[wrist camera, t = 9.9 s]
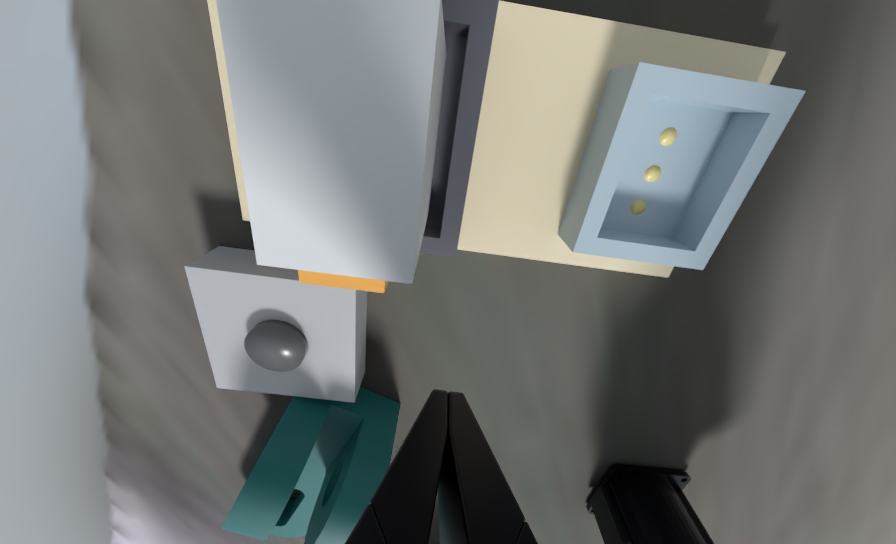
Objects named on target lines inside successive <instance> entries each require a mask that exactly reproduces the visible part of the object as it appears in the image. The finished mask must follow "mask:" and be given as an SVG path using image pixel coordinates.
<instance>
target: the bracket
mask: <svg viewBox="0 0 896 544" xmlns="http://www.w3.org/2000/svg"><path fill="white" fill-rule="evenodd" d="M400 404H401V403H398V402H396V401H394V400H391V399H389V398H386V397H384V396H381V395H379V394H376V393H374V392H371V391H369V390H367V389H364V388H362V387H360V388H359V391H358V394H357V397H356V400H355V403H354V402H345V401H335V400H326V399H316V398H307V397H298V396H293V398H292V399H291V401H290V403H289V405H288V407H287V408H286V410H285V412H284V414H283V415H282V417H281V419H280V421H279V423H278V424H277V426H276V428H275V430H274V432H273V433H272V435H271V437H270V439H269V441H268V442H267V444H266V446H265V448H264V450H263V451H262V453H261V455H260V457H259V459H258V461H257V462H256V464H255V466H254V468H253V470H252V472H251V473H250V475H249V477H248V479H247V481H246V483H245V484H244V486H243V488H242V490H241V492H240V494H239V496H238V497H237V499H236V501H235V503H234V505H233V507H232V509H231V511H230V513H229V514H228V516H227V518H226V520H225V522H224V524H223V526H222V528H221V529H224V530H227V531H231V532H235V533H238V534H242V535H246V536H249V537H253V538H257V539H260V540H264V541H265V540H266V539H267V538H268V537H269V535H273V536H278V537H300V536H305V535H306V537H305V543H304V544H345V542H346V540H347V539H348V537H349V535H350V534H351V532H352V531H353V529H354V527H355V526H356V524H357V522H358V521H359V519H360V517H361V515H362V514H363V512H364V510H365V508H366V507H367V505H368V504H370V500H371V498H372V496H373V495H374V493H375V491H376V489H377V488H378V486H379V484H380V482H381V481H382V479H383V477H384V475H385V473H386V472H387V470H388V468H389V465H390V460H391V454H392V449H393V443H394V437H395V432H396V426H397V421H398V415H399V409H400ZM294 489H298V490H300V491H301V492H300V494H299V495H298V497H297V498H295V499H289V498H290V496H291V494H292V492H293V490H294Z"/></svg>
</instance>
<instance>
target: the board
mask: <svg viewBox="0 0 896 544" xmlns="http://www.w3.org/2000/svg"><path fill="white" fill-rule="evenodd" d="M207 2H208V8H209V14H210V20H211V26H212V32H213V39H214V45H215V51H216V57H217V63H218V70H219V76H220V82H221V88H222V94H223V100H224V107H225V113H226V119H227V125H228V131H229V137H230V144H231V150H232V156H233V162H234V168H235V174H236V181H237V187H238V193H239V199H240V205H241V211H242V218H243V220H244V221H250V216H249V210H248V203H247V197H246V190H245V184H244V178H243V171H242V165H241V158H240V152H239V145H238V139H237V132H236V126H235V119H234V113H233V106H232V100H231V94H230V87H229V81H228V74H227V68H226V61H225V55H224V48H223V42H222V35H221V29H220V23H219V16H218V10H217V3H216V0H207ZM785 54H786V52H783V51H777V50H772V49H766V48H761V47H755V46H750V45H744V44H739V43H733V42H727V41H722V40H716V39H711V38H705V37H700V36H694V35H689V34H683V33H677V32H672V31H666V30H661V29H655V28H650V27H644V26H639V25H633V24H627V23H622V22H616V21H611V20H605V19H600V18H594V17H589V16H583V15H577V14H572V13H566V12H561V11H555V10H550V9H544V8H538V7H533V6H527V5H522V4H516V3H511V2H505V1H500V0H499V3H498V9H497V15H496V21H495V27H494V33H493V39H492V45H491V51H490V57H489V63H488V69H487V75H486V81H485V87H484V93H483V99H482V105H481V111H480V116H479V122H478V128H477V134H476V140H475V146H474V152H473V158H472V164H471V170H470V176H469V182H468V188H467V194H466V200H465V206H464V212H463V218H462V224H461V230H460V236H459V242H458V248H457V249H459V250H466V251H474V252H481V253H489V254H496V255H503V256H511V257H518V258H526V259H533V260H540V261H548V262H555V263H563V264H570V265H578V266H585V267H592V268H600V269H607V270H615V271H622V272H629V273H637V274H644V275H652V276H659V277H666V278H668V277H669V275H670V273H671V271H672V270H673V268H674V266H669V265H662V264H654V263H647V262H640V261H633V260H625V259H618V258H611V257H603V256H596V255H589V254H582V253H574V252H572V251H571V250H570V248H569V247H568V246H567V245H566V244H565V243H564V241H563V240H562V239H561V238H560V237H559V236H558V232H559V229H560V226H561V223H562V219H563V216H564V213H565V210H566V207H567V204H568V201H569V197H570V194H571V191H572V188H573V185H574V182H575V179H576V175H577V172H578V169H579V166H580V163H581V160H582V157H583V153H584V150H585V147H586V144H587V141H588V138H589V135H590V131H591V128H592V125H593V122H594V119H595V116H596V113H597V110H598V106H599V103H600V100H601V97H602V94H603V91H604V88H605V84H606V81H607V78H608V75H609V72H610V70H612V69H615V68H619V67H623V66H627V65H631V64H634V63H638V62H642V63H648V64H653V65H659V66H665V67H671V68H676V69H682V70H688V71H694V72H699V73H705V74H711V75H717V76H723V77H728V78H734V79H740V80H746V81H751V82H757V83H763V84H770V82H771V80H772V78H773V77H774V75H775V73H776V71H777V69H778V67H779V65H780V63H781V61H782V59H783V57H784V55H785Z"/></svg>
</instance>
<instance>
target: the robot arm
mask: <svg viewBox="0 0 896 544" xmlns="http://www.w3.org/2000/svg"><path fill="white" fill-rule="evenodd" d="M690 480H691V478H690V476H689V475H688V473H687V472H685V471H675V470H665V469H655V468H645V467H636V466H626V465H613V466H611V467H610V469H609V470H608V472H607V473H606V475H605V477H604V478H603V480H602V481H601V483H600V485H599V486H598V488H597V489H596V491H595V493H594V494H593V496H592V497H591V499H590V501H589V502H588V504H587V506H586V507H587V510H588V513H590V514H594V515H595V518H596V521H597V523H598V526H599V529H600V532H601V535H602V538H603V540H604V543H605V544H714V543H713V541H712V539H711V538H710V536H709V534H708V533H707V531H706V529H705V528H704V526H703V524H702V523H701V521H700V520H699V518H698V516H697V515H696V513H695V511H694V510H693V508H692V506H691V505H690V503H689V501H688V500H687V498H686V496H685V495H684V493H683V492H682V490H683V489H684V487H685V486H686V485H687V484H688V483H689V481H690ZM437 490H438V501H439V542H440V544H538V543H537V541H536V539H535V537H534V535H533V533H532V531H531V529H530V527H529V525H528V523H527V522H524V521H525V517H524V515H523V513H522V511H521V509H520V507H519V505H518V503H517V501H516V499H515V497H514V495H513V493H512V491H511V489H510V487H509V485H508V483H507V481H506V479H505V477H504V475H503V473H502V471H501V469H500V467H499V465H498V463H497V461H496V459H495V457H494V455H493V453H492V451H491V449H490V447H489V445H488V442H487V440H486V438H485V436H484V434H483V432H482V430H481V428H480V426H479V424H478V422H477V420H476V418H475V416H474V414H473V412H472V410H471V408H470V406H469V404H468V402H467V400H466V398H465V396H464V394H462V393H459V392H449V393H447V391H443V390H436V389H435V390H433V391H432V392H431V394H430V396H429V398H428V399H427V401H426V403H425V405H424V406H423V408H422V410H421V412H420V414H419V415H418V417H417V419H416V421H415V422H414V424H413V426H412V428H411V429H410V431H409V433H408V435H407V436H406V438H405V440H404V442H403V443H402V445H401V447H400V449H399V451H398V452H397V454H396V456H395V458H394V459H393V461H392V463H391V465H390V466H389V468H388V470H387V472H386V473H385V475H384V477H383V479H382V481H381V482H380V484H379V486H378V488H377V489H376V491H375V493H374V495H373V496H372V498H371V500H370V504H368V505H367V507H366V508H365V510H364V512H363V514H362V515H361V517H360V519H359V521H358V522H357V524H356V526H355V527H354V529H353V531H352V532H351V534H350V535H349V537H348V539H347V540H346V542H345V544H428V540H429V535H430V529H431V524H432V518H433V513H434V507H435V501H436V496H437Z"/></svg>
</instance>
